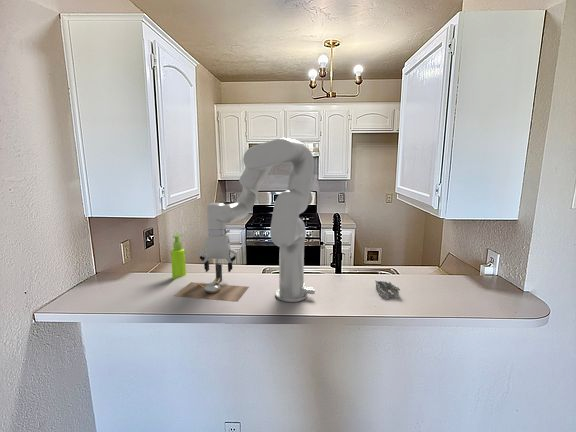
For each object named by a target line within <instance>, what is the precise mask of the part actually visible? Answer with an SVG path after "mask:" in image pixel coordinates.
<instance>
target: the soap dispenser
mask: <svg viewBox="0 0 576 432" xmlns="http://www.w3.org/2000/svg"><path fill="white" fill-rule="evenodd" d="M181 236H183V233H182V234H181V233H180V234H179V233H176V234H175V235H173V238H174V242H172V243H173V248H172V249H171V250H170V260H171V273H172V280H176V279H177V278H182V277H184V276H186V275H187V269H186V253H185V252H186V251H185V250H186V249H185V248H182V241H180V237H181Z"/></svg>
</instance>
